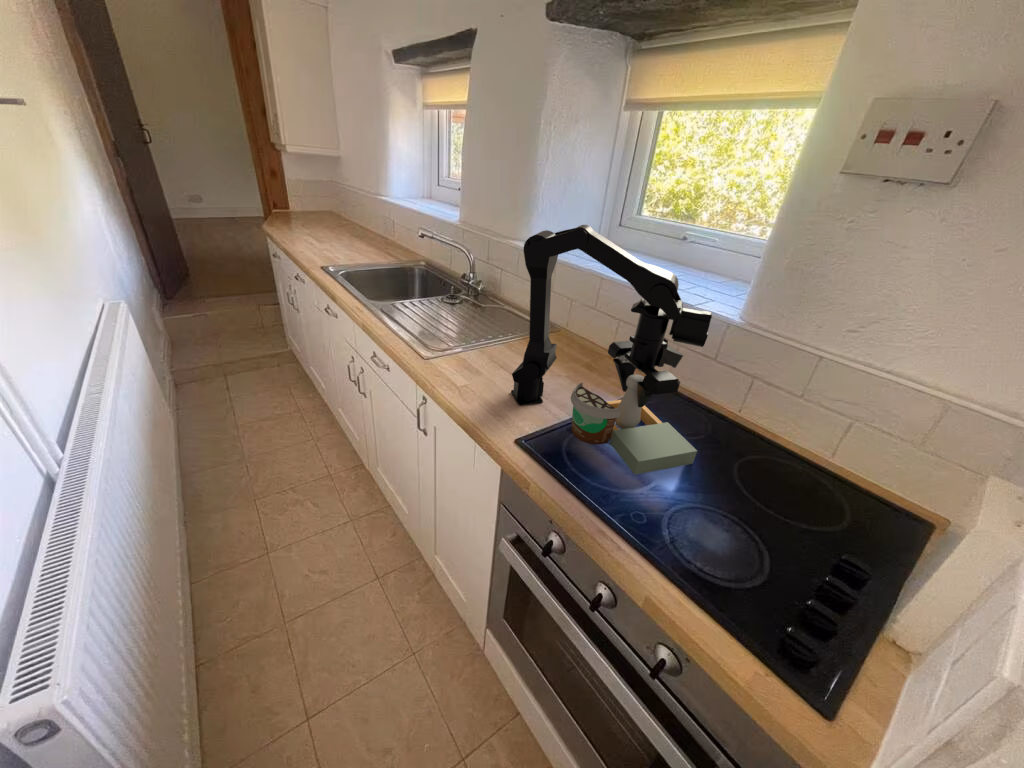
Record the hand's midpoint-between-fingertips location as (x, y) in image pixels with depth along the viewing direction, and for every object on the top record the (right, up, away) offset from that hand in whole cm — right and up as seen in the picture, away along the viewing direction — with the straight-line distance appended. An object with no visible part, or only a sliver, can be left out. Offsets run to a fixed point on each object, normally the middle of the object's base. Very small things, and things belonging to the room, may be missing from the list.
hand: (632, 398), depth 91 cm
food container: (-11, -8, 0) cm, 14 cm away
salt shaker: (-1, -6, +4) cm, 8 cm away
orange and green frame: (+1, -9, 0) cm, 9 cm away
